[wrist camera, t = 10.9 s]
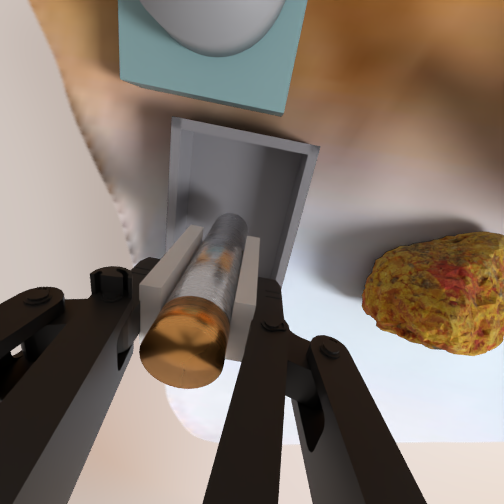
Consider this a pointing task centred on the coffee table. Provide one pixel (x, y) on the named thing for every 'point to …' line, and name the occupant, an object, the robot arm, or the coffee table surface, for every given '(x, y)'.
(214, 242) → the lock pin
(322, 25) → the coffee table surface
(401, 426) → the coffee table surface
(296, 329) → the coffee table surface
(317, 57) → the coffee table surface
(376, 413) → the robot arm
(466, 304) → the rock
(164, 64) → the lever control panel
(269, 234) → the tray
